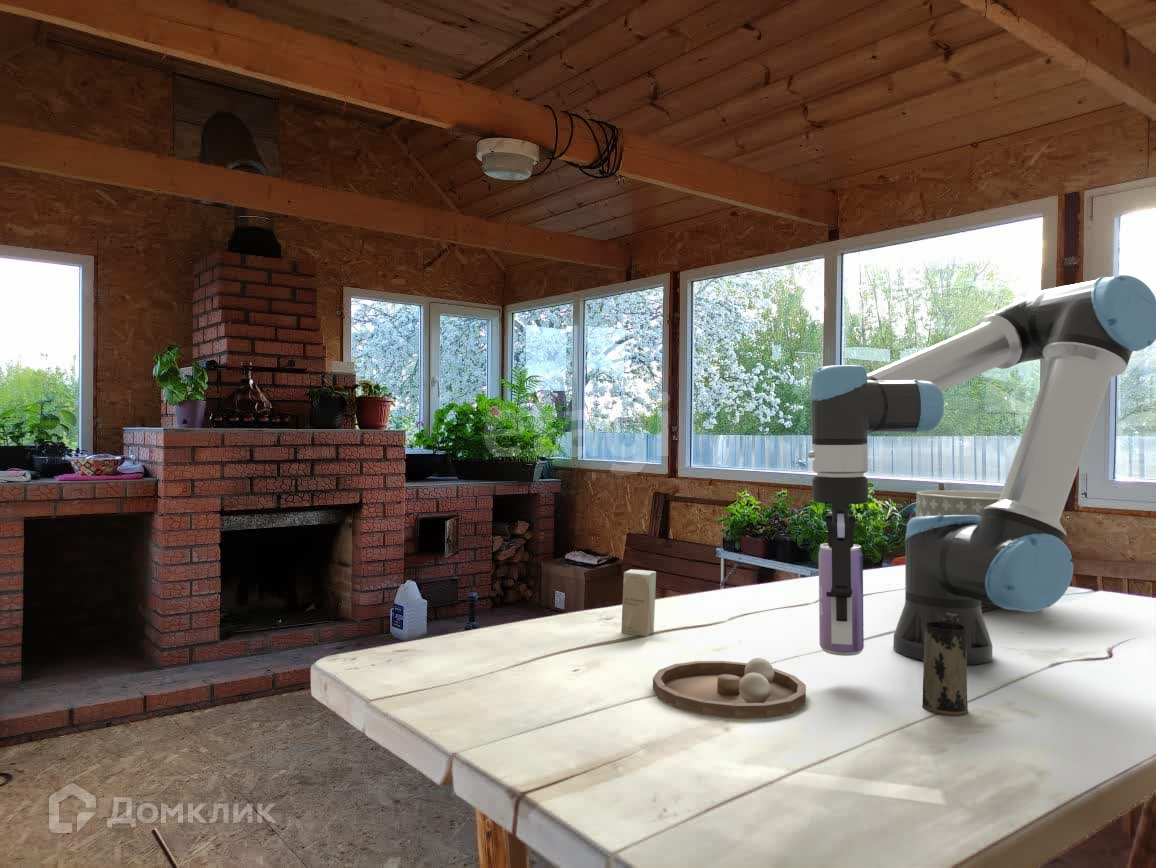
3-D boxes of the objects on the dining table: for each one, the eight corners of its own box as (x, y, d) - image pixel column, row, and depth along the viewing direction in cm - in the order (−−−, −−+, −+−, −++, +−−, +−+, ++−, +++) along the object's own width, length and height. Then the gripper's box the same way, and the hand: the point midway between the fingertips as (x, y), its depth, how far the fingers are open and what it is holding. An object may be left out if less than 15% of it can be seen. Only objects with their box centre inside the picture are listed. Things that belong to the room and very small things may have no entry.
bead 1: (774, 684, 115) (775, 656, 115) (772, 693, 111) (773, 663, 111) (745, 681, 116) (746, 653, 116) (742, 690, 112) (743, 660, 112)
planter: (1066, 615, 168) (1068, 499, 169) (943, 613, 169) (945, 497, 169) (1004, 592, 194) (1006, 491, 194) (897, 590, 194) (899, 489, 194)
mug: (963, 719, 105) (964, 625, 105) (917, 710, 108) (918, 619, 108) (974, 703, 111) (976, 615, 111) (931, 695, 114) (932, 609, 114)
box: (620, 633, 147) (621, 571, 147) (628, 628, 151) (629, 568, 151) (648, 636, 145) (649, 574, 145) (655, 631, 149) (656, 570, 149)
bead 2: (771, 701, 108) (771, 670, 108) (768, 710, 104) (769, 679, 104) (740, 697, 109) (740, 667, 109) (736, 707, 105) (737, 675, 105)
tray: (807, 686, 118) (807, 665, 118) (802, 734, 98) (803, 709, 98) (669, 672, 123) (669, 652, 123) (639, 715, 104) (639, 691, 104)
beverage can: (866, 657, 113) (865, 548, 113) (821, 655, 114) (820, 548, 114) (860, 646, 119) (859, 542, 119) (817, 644, 120) (816, 542, 120)
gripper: (813, 471, 127) (815, 620, 127) (810, 478, 108) (812, 653, 109) (865, 471, 124) (866, 623, 125) (870, 479, 106) (872, 657, 106)
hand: (841, 637), depth 117 cm, fingers closed on beverage can, 6 cm apart
